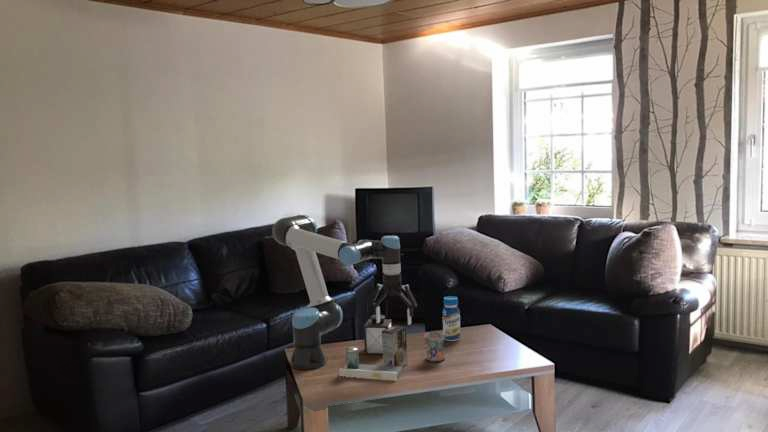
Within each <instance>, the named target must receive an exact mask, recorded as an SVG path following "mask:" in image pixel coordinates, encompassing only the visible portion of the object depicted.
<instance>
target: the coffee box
mask: <svg viewBox="0 0 768 432" xmlns="http://www.w3.org/2000/svg"><path fill="white" fill-rule="evenodd" d="M382 346H383V355H382V360H383V361H382V363H383V365H382V366H393V367H403V368H404V366H407V365H408V347H407V329H406V327H404V326H400V325H392V327H390V328H387V329H385V330H383V331H382Z"/></svg>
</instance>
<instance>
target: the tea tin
mask: <svg viewBox="0 0 768 432" xmlns="http://www.w3.org/2000/svg"><path fill="white" fill-rule="evenodd" d="M359 351H360V350H359V347H357V346H348V347H346V348H345V353H346V365H347V369H358V368H359V364H360V359H359V354H360V353H359Z"/></svg>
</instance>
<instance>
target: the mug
mask: <svg viewBox="0 0 768 432" xmlns="http://www.w3.org/2000/svg"><path fill="white" fill-rule="evenodd" d="M423 338H424V340H425V344H426V354H425V357H424V358H425V360H427V361H429V362H441V361H443V360H445V359H446V356H445V354H444V350H443V349H444V347H443V346H444V341H445V340H444V338H445V334H443V332H439V331H438V332H437V331H436V332H435V331H433V332H427V333H424V334H423Z"/></svg>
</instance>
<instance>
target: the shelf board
mask: <svg viewBox="0 0 768 432" xmlns="http://www.w3.org/2000/svg"><path fill="white" fill-rule="evenodd" d="M338 369H339V371H338V372H339V374H338V375H339V377H341V376H343V377H344V376H345V378H354V377H356V379H368V380H382V381H383V380H384V381H396V382H397V381H398V379H399V378H400V377H401V376H402V374H403V373H404V366H403V367H393V366H383V365H375V364H362V363H359V368H358V369H347V364H345V366H344V367H343V368H342V367H340V368H338ZM343 377H342V378H343Z"/></svg>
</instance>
